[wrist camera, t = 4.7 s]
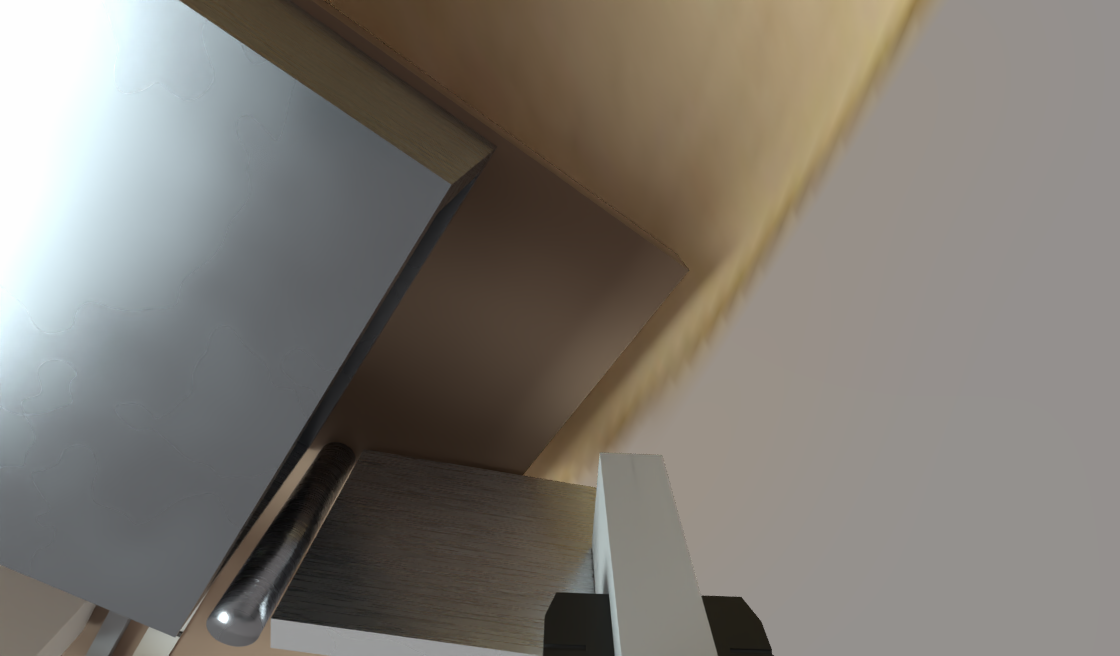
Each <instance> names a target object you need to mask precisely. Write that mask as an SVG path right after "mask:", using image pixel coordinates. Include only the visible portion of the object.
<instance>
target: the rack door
mask: <svg viewBox="0 0 1120 656" xmlns="http://www.w3.org/2000/svg"><path fill="white" fill-rule="evenodd" d="M355 461H356V457H355V454H354V452H353V450H352V449H351V448H350V447H348V446H347V445H345V444H343V443H339V442H331V443H328V444H326V445H324V446H323V447H322V449H321V450H320V452H319V453H318V455H317V456H316V457H315V459H314V460H313V462H312V463H311V465H310V466H309V468H308V469H307V471H306V472H305V474H304V475H303V477H302V478H301V480H300V481H299V483H298V484H297V486H296V487H295V489H294V490H293V492H292V493H291V495H290V496H289V498H288V499H287V501H286V502H285V504H284V505H283V507H282V508H281V510H280V511H279V513H278V514H277V516H276V517H275V519H274V520H273V522H272V523H271V525H270V526H269V528H268V529H267V530H266V532H265V533H264V535H263V536H262V538H261V539H260V541H259V542H258V544H257V545H256V547H255V548H254V550H253V551H252V553H251V554H250V556H249V557H248V559H247V560H246V562H245V563H244V565H243V566H242V568H241V569H240V571H239V572H238V574H237V575H236V577H235V578H234V580H233V581H232V583H231V584H230V586H229V587H228V589H227V590H226V592H225V593H224V595H223V596H222V598H221V599H220V600H219V602H218V603H217V605H216V606H215V608H214V609H213V611H212V612H211V614H210V615H209V617H208V619H207V622H206V626H207V630H208V632H209V633H210V634H211V636H212V637H213V638H215V639H216V640H217V641H219V642H221V643H223V644H226V645H229V646H235V647H243V646H248V645H250V644H253V643H254V642H255V641H256V640H257V639H258V638H259V636H260V634H261V632H262V630H263V629H264V627H265V625H266V623H267V621H268V620H269V618H270V616H271V614H272V612H273V611H274V609H275V607H276V605H277V603H278V601H279V600H280V598H281V596H282V594H283V592H284V591H285V589H286V587H287V585H288V583H289V582H290V580H291V578H292V576H293V574H294V573H295V571H296V569H297V567H298V565H299V563H300V562H301V560H302V558H303V556H304V554H305V553H306V551H307V549H308V547H309V545H310V544H311V542H312V540H313V538H314V536H315V535H316V533H317V531H318V529H319V527H320V526H321V524H322V522H323V520H324V518H325V516H326V515H327V513H328V511H329V509H330V507H331V506H332V504H333V502H334V500H335V498H336V497H337V495H338V493H339V491H340V489H341V488H342V486H343V484H344V482H345V480H346V479H347V477H348V475H349V473H350V471H351V469H352V468H353V466H354V464H355ZM596 490H597V488H595V487H590V486H583V485H577V484H571V483H565V482H559V481H553V480H547V479H541V478H535V477H529V476H522V475H516V474H510V473H504V472H498V471H492V470H486V469H480V468H474V467H468V466H461V465H455V464H449V463H443V462H437V461H431V460H425V459H419V458H413V457H407V456H400V455H394V454H388V453H382V452H376V451H370V450H363V452H362V453H361V455H360V457H359V459H358V461H357V463H356V464H355V466H354V468H353V470H352V472H351V473H350V475H349V477H348V479H347V481H346V483H345V484H344V486H343V488H342V490H341V492H340V493H339V495H338V497H337V499H336V501H335V503H334V504H333V506H332V508H331V510H330V512H329V513H328V515H327V517H326V519H325V521H324V523H323V524H322V526H321V528H320V530H319V532H318V533H317V535H316V537H315V539H314V541H313V543H312V544H311V546H310V548H309V550H308V552H307V554H306V555H305V557H304V559H303V561H302V563H301V564H300V566H299V568H298V570H297V572H296V574H295V575H294V577H293V579H292V581H291V583H290V584H289V586H288V588H287V590H286V592H285V594H284V595H283V597H282V599H281V601H280V603H279V604H278V606H277V608H276V610H275V612H274V614H273V615H272V617H271V648H276V649H284V650H291V651H298V652H306V653H313V654H321V655H328V656H543V638H544V618H545V614H546V612H547V610H548V608H549V606H550V604H551V602H552V600H553V598H554V596H555V594H556V592H564V593H592V594H595V581H594V566H593V551H592V534H593V523H594V512H595V501H596Z"/></svg>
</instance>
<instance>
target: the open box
mask: <svg viewBox="0 0 1120 656" xmlns="http://www.w3.org/2000/svg"><path fill="white" fill-rule="evenodd" d="M496 148H497V146H496V145H494V144H493V143H491V142H490V141H488V140H487V139H486V138H484V137H483V136H481V135H480V134H479V133H477V132H476V131H474V130H473V129H472V128H470V127H469V126H467V125H466V124H464V123H463V122H462V121H460V120H459V119H457V118H456V117H455V116H453V115H452V114H450V113H449V112H448V111H446V110H445V109H443V108H442V107H441V106H439V105H438V104H436V103H435V102H433V101H432V100H431V99H429V98H428V97H426V96H425V95H424V94H422V93H421V92H419V91H418V90H417V89H415V88H414V87H412V86H411V85H409V84H408V83H407V82H405V81H404V80H402V79H401V78H400V77H398V76H397V75H395V74H394V73H393V72H391V71H390V70H388V69H387V68H386V67H384V66H383V65H381V64H380V63H378V62H377V61H376V60H374V59H373V58H371V57H370V56H369V55H367V54H366V53H364V52H363V51H362V50H360V49H359V48H357V47H356V46H354V45H353V44H352V43H350V42H349V41H347V40H346V39H345V38H343V37H342V36H340V35H339V34H338V33H336V32H335V31H333V30H332V29H331V28H329V27H328V26H326V25H325V24H323V23H322V22H321V21H319V20H318V19H316V18H315V17H314V16H312V15H311V14H309V13H308V12H307V11H305V10H304V9H302V8H301V7H299V6H298V5H297V4H295V3H294V2H292V1H291V0H0V565H2V566H4V567H7V568H9V569H11V570H14V571H16V572H19V573H21V574H23V575H26V576H28V577H31V578H33V579H36V580H38V581H40V582H43V583H45V584H48V585H50V586H52V587H55V588H57V589H60V590H62V591H64V592H67V593H69V594H72V595H74V596H76V597H79V598H81V599H84V600H86V601H88V602H91V603H93V604H96V605H98V606H100V607H103V608H105V609H108V610H110V611H112V612H115V613H117V614H120V615H122V616H124V617H127V618H129V619H132V620H134V621H136V622H139V623H141V624H144V625H146V626H148V627H151V628H153V629H156V630H158V631H160V632H163V633H165V634H168V635H170V636H172V637H176V636H177V634H178V633H179V631H180V630H181V629H182V627H183V626H184V624H185V623H186V621H187V620H188V619H189V617H190V616H191V614H192V613H193V612H194V610H195V609H196V607H197V606H198V604H199V603H200V602H201V600H202V599H203V597H204V596H205V595H206V593H207V592H208V590H209V589H210V588H211V586H212V585H213V583H214V582H215V580H216V579H217V578H218V576H219V575H220V573H221V572H222V571H223V569H224V568H225V566H226V565H227V564H228V562H229V561H230V559H231V558H232V556H233V555H234V554H235V552H236V551H237V549H238V548H239V547H240V545H241V544H242V542H243V541H244V539H245V538H246V537H247V535H248V534H249V532H250V531H251V530H252V528H253V527H254V525H255V524H256V523H257V521H258V520H259V518H260V517H261V515H262V514H263V513H264V511H265V510H266V508H267V507H268V506H269V504H270V503H271V501H272V500H273V498H274V497H275V496H276V494H277V493H278V491H279V490H280V489H281V487H282V486H283V484H284V483H285V482H286V480H287V479H288V477H289V476H290V474H291V473H292V472H293V470H294V469H295V467H296V466H297V465H298V463H299V462H300V460H301V459H302V457H303V456H304V455H305V453H306V452H307V450H308V449H309V447H310V446H311V444H312V443H313V441H314V439H315V438H316V436H317V435H318V433H319V431H320V430H321V428H322V427H323V425H324V423H325V422H326V420H327V419H328V417H329V415H330V414H331V412H332V411H333V409H334V407H335V406H336V404H337V403H338V401H339V399H340V398H341V396H342V395H343V393H344V391H345V390H346V388H347V387H348V385H349V383H350V382H351V380H352V379H353V377H354V375H355V374H356V372H357V371H358V369H359V367H360V366H361V364H362V363H363V361H364V359H365V358H366V356H367V355H368V353H369V351H370V350H371V348H372V347H373V345H374V343H375V342H376V340H377V339H378V337H379V335H380V334H381V332H382V331H383V329H384V327H385V326H386V324H387V323H388V321H389V319H390V318H391V316H392V315H393V313H394V311H395V310H396V308H397V307H398V305H399V303H400V302H401V300H402V299H403V297H404V295H405V294H406V292H407V291H408V289H409V287H410V286H411V284H412V283H413V281H414V279H415V278H416V276H417V275H418V273H419V271H420V270H421V268H422V267H423V265H424V263H425V262H426V260H427V259H428V257H429V255H430V254H431V252H432V251H433V249H434V247H435V246H436V244H437V243H438V241H439V239H440V238H441V236H442V235H443V233H444V231H445V230H446V228H447V227H448V225H449V223H450V222H451V220H452V219H453V217H454V215H455V214H456V212H457V211H458V209H459V207H460V206H461V204H462V203H463V201H464V199H465V198H466V196H467V195H468V193H469V191H470V190H471V188H472V187H473V185H474V183H475V182H476V180H477V179H478V177H479V175H480V174H481V172H482V171H483V169H484V167H485V166H486V164H487V163H488V161H489V159H490V158H491V156H492V155H493V153H494V151H495V150H496Z"/></svg>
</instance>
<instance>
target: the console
mask: <svg viewBox="0 0 1120 656" xmlns="http://www.w3.org/2000/svg"><path fill="white" fill-rule="evenodd" d="M291 1H292V2H294V3H295V4H297V5H298V6H299V7H301V8H302V9H304V10H305V11H307V12H308V13H309V14H311V15H312V16H314V17H315V18H316V19H318V20H319V21H321V22H322V23H323V24H325V25H326V26H328V27H329V28H331V29H332V30H333V31H335V32H336V33H338V34H339V35H340V36H342V37H343V38H345V39H346V40H347V41H349V42H350V43H352V44H353V45H354V46H356V47H357V48H359V49H360V50H362V51H363V52H364V53H366V54H367V55H369V56H370V57H371V58H373V59H374V60H376V61H377V62H378V63H380V64H381V65H383V66H384V67H386V68H387V69H388V70H390V71H391V72H393V73H394V74H395V75H397V76H398V77H400V78H401V79H402V80H404V81H405V82H407V83H408V84H409V85H411V86H412V87H414V88H415V89H417V90H418V91H419V92H421V93H422V94H424V95H425V96H426V97H428V98H429V99H431V100H432V101H433V102H435V103H436V104H438V105H439V106H441V107H442V108H443V109H445V110H446V111H448V112H449V113H450V114H452V115H453V116H455V117H456V118H457V119H459V120H460V121H462V122H463V123H464V124H466V125H467V126H469V127H470V128H472V129H473V130H474V131H476V132H477V133H479V134H480V135H481V136H483V137H484V138H486V139H487V140H488V141H490V142H491V143H493V144H494V145H496V146H497V148H496V150H495V151H494V153H493V155H492V156H491V158H490V159H489V161H488V163H487V164H486V166H485V167H484V169H483V171H482V172H481V174H480V175H479V177H478V179H477V180H476V182H475V183H474V185H473V187H472V188H471V190H470V191H469V193H468V195H467V196H466V198H465V199H464V201H463V203H462V204H461V206H460V207H459V209H458V211H457V212H456V214H455V215H454V217H453V219H452V220H451V222H450V223H449V225H448V227H447V228H446V230H445V231H444V233H443V235H442V236H441V238H440V239H439V241H438V243H437V244H436V246H435V247H434V249H433V251H432V252H431V254H430V255H429V257H428V259H427V260H426V262H425V263H424V265H423V267H422V268H421V270H420V271H419V273H418V275H417V276H416V278H415V279H414V281H413V283H412V284H411V286H410V287H409V289H408V291H407V292H406V294H405V295H404V297H403V299H402V300H401V302H400V303H399V305H398V307H397V308H396V310H395V311H394V313H393V315H392V316H391V318H390V319H389V321H388V323H387V324H386V326H385V327H384V329H383V331H382V332H381V334H380V335H379V337H378V339H377V340H376V342H375V343H374V345H373V347H372V348H371V350H370V351H369V353H368V355H367V356H366V358H365V359H364V361H363V363H362V364H361V366H360V367H359V369H358V371H357V372H356V374H355V375H354V377H353V379H352V380H351V382H350V383H349V385H348V387H347V388H346V390H345V391H344V393H343V395H342V396H341V398H340V399H339V401H338V403H337V404H336V406H335V407H334V409H333V411H332V412H331V414H330V415H329V417H328V419H327V420H326V422H325V423H324V425H323V427H322V428H321V430H320V431H319V433H318V435H317V436H316V438H315V439H314V441H313V443H312V444H311V446H310V447H309V449H308V450H307V452H306V453H305V455H304V456H303V457H302V459H301V460H300V462H299V463H298V465H297V466H296V467H295V469H294V470H293V472H292V473H291V474H290V476H289V477H288V479H287V480H286V482H285V483H284V484H283V486H282V487H281V489H280V490H279V491H278V493H277V494H276V496H275V497H274V498H273V500H272V501H271V503H270V504H269V506H268V507H267V508H266V510H265V511H264V513H263V514H262V515H261V517H260V518H259V520H258V521H257V523H256V524H255V525H254V527H253V528H252V530H251V531H250V532H249V534H248V535H247V537H246V538H245V539H244V541H243V542H242V544H241V545H240V547H239V548H238V549H237V551H236V552H235V554H234V555H233V556H232V558H231V559H230V561H229V562H228V564H227V565H226V566H225V568H224V569H223V571H222V572H221V573H220V575H219V576H218V578H217V579H216V580H215V582H214V583H213V585H212V586H211V588H210V589H209V590H208V592H207V593H206V595H205V596H204V597H203V599H202V600H201V602H200V603H199V604H198V606H197V607H196V609H195V610H194V612H193V613H192V614H191V616H190V617H189V619H188V620H187V621H186V623H185V624H184V626H183V627H182V629H181V630H180V631H179V633H178V634H177V636H176V637H172V636H170V635H168V634H165V633H163V632H160V631H158V630H156V629H153V628H151V627H148V626H146V625H144V624H141V623H139V622H136V621H134V620H132V619H129V618H127V617H124V616H122V615H120V614H117V613H115V612H112V611H110V610H108V609H105V608H103V607H100V606H98V605H96V607H95V608H94V610H93V612H92V614H91V616H90V618H89V620H88V622H87V624H86V626H85V628H84V630H83V631H82V632H81V633H80V635H79V636H78V637H77V638H76V639H75V640H74V641H73V642H72V644H71V645H70V646H69V647H68V648H67V649H66V650H65V651H64V653H63V654H62V655H61V656H328V655H321V654H313V653H306V652H298V651H291V650H284V649H276V648H271V617H272V615H273V614H274V612H275V610H276V608H277V606H278V604H279V603H280V601H281V599H282V597H283V595H284V594H285V592H286V590H287V588H288V586H289V584H290V583H291V581H292V579H293V577H294V575H295V574H296V572H297V570H298V568H299V566H300V564H301V563H302V561H303V559H304V557H305V555H306V554H307V552H308V550H309V548H310V546H311V544H312V543H313V541H314V539H315V537H316V535H317V533H318V532H319V530H320V528H321V526H322V524H323V523H324V521H325V519H326V517H327V515H328V513H329V512H330V510H331V508H332V506H333V504H334V503H335V501H336V499H337V497H338V495H339V493H340V492H341V490H342V488H343V486H344V484H345V483H346V481H347V479H348V477H349V475H350V473H351V472H352V470H353V468H354V466H355V464H356V463H357V461H358V459H359V457H360V455H361V453H362V452H363V450H370V451H376V452H382V453H388V454H394V455H400V456H407V457H413V458H419V459H425V460H431V461H437V462H443V463H449V464H455V465H461V466H468V467H474V468H480V469H486V470H492V471H498V472H504V473H510V474H516V475H523V474H524V473H525V472H526V470H527V469H528V468H529V467H530V465H531V464H532V463H533V462H534V461H535V459H536V458H537V457H538V456H539V454H540V453H541V452H542V451H543V449H544V448H545V447H546V446H547V445H548V443H549V442H550V441H551V440H552V438H553V437H554V436H555V435H556V433H557V432H558V431H559V430H560V429H561V427H562V426H563V425H564V424H565V422H566V421H567V420H568V419H569V418H570V416H571V415H572V414H573V413H574V411H575V410H576V409H577V408H578V406H579V405H580V404H581V403H582V402H583V400H584V399H585V398H586V397H587V395H588V394H589V393H590V392H591V390H592V389H593V388H594V387H595V386H596V384H597V383H598V382H599V381H600V379H601V378H602V377H603V376H604V375H605V373H606V372H607V371H608V370H609V368H610V367H611V366H612V365H613V363H614V362H615V361H616V360H617V359H618V357H619V356H620V355H621V354H622V352H623V351H624V350H625V349H626V347H627V346H628V345H629V344H630V343H631V341H632V340H633V339H634V338H635V336H636V335H637V334H638V333H639V331H640V330H641V329H642V328H643V327H644V325H645V324H646V323H647V322H648V320H649V319H650V318H651V317H652V316H653V314H654V313H655V312H656V311H657V309H658V308H659V307H660V306H661V304H662V303H663V302H664V301H665V300H666V298H667V297H668V296H669V295H670V293H671V292H672V291H673V290H674V288H675V287H676V286H677V285H678V284H679V282H680V281H681V280H682V279H683V277H684V276H685V275H686V274H687V273H688V271H689V269H688V268H687V267H686V266H685V264H684V263H683V262H682V260H681V259H680V258H679V256H678V255H677V254H676V253H674V252H673V251H671V250H670V249H669V248H667V247H666V246H664V245H663V244H662V243H660V242H659V241H657V240H656V239H655V238H653V237H652V236H651V235H649V234H648V233H646V232H645V231H644V230H642V229H641V228H639V227H638V226H637V225H635V224H634V223H632V222H631V221H630V220H628V219H627V218H625V217H624V216H623V215H621V214H620V213H619V212H617V211H616V210H614V209H613V208H612V207H610V206H609V205H607V204H606V203H605V202H603V201H602V200H600V199H599V198H598V197H596V196H595V195H594V194H592V193H591V192H589V191H588V190H587V189H585V188H584V187H582V186H581V185H580V184H578V183H577V182H575V181H574V180H573V179H571V178H570V177H568V176H567V175H566V174H564V173H563V172H562V171H560V170H559V169H557V168H556V167H555V166H553V165H552V164H550V163H549V162H548V161H546V160H545V159H543V158H542V157H541V156H539V155H538V154H536V153H535V152H534V151H532V150H531V149H530V148H528V147H527V146H525V145H524V144H523V143H521V142H520V141H518V140H517V139H516V138H514V137H513V136H511V135H510V134H509V133H507V132H506V131H505V130H503V129H502V128H500V127H499V126H498V125H496V124H495V123H493V122H492V121H491V120H489V119H488V118H486V117H485V116H484V115H482V114H481V113H479V112H478V111H477V110H475V109H474V108H473V107H471V106H470V105H468V104H467V103H466V102H464V101H463V100H461V99H460V98H459V97H457V96H456V95H454V94H453V93H452V92H450V91H449V90H448V89H446V88H445V87H443V86H442V85H441V84H439V83H438V82H436V81H435V80H434V79H432V78H431V77H429V76H428V75H427V74H425V73H424V72H422V71H421V70H420V69H418V68H417V67H416V66H414V65H413V64H411V63H410V62H409V61H407V60H406V59H404V58H403V57H402V56H400V55H399V54H397V53H396V52H395V51H393V50H392V49H390V48H389V47H388V46H386V45H385V44H384V43H382V42H381V41H379V40H378V39H377V38H375V37H374V36H372V35H371V34H370V33H368V32H367V31H365V30H364V29H363V28H361V27H360V26H359V25H357V24H356V23H354V22H353V21H352V20H350V19H349V18H347V17H346V16H345V15H343V14H342V13H340V12H339V11H338V10H336V9H335V8H333V7H332V6H331V5H329V4H328V3H327V2H325V1H324V0H291ZM331 442H339V443H343V444H345V445H347V446H348V447H350V448H351V449H352V450H353V452H354V454H355V457H356V461H355V464H354V466H353V468H352V469H351V471H350V473H349V475H348V477H347V479H346V480H345V482H344V484H343V486H342V488H341V489H340V491H339V493H338V495H337V497H336V498H335V500H334V502H333V504H332V506H331V507H330V509H329V511H328V513H327V515H326V516H325V518H324V520H323V522H322V524H321V526H320V527H319V529H318V531H317V533H316V535H315V536H314V538H313V540H312V542H311V544H310V545H309V547H308V549H307V551H306V553H305V554H304V556H303V558H302V560H301V562H300V563H299V565H298V567H297V569H296V571H295V573H294V574H293V576H292V578H291V580H290V582H289V583H288V585H287V587H286V589H285V591H284V592H283V594H282V596H281V598H280V600H279V601H278V603H277V605H276V607H275V609H274V611H273V612H272V614H271V616H270V618H269V620H268V621H267V623H266V625H265V627H264V629H263V630H262V632H261V634H260V636H259V638H258V639H257V640H256V641H255V642H254V643H253V644H250V645H248V646H243V647H235V646H229V645H226V644H223V643H221V642H219V641H217V640H216V639H215V638H213V637H212V636H211V634H210V633H209V632H208V630H207V626H206V622H207V619H208V617H209V615H210V614H211V612H212V611H213V609H214V608H215V606H216V605H217V603H218V602H219V600H220V599H221V598H222V596H223V595H224V593H225V592H226V590H227V589H228V587H229V586H230V584H231V583H232V581H233V580H234V578H235V577H236V575H237V574H238V572H239V571H240V569H241V568H242V566H243V565H244V563H245V562H246V560H247V559H248V557H249V556H250V554H251V553H252V551H253V550H254V548H255V547H256V545H257V544H258V542H259V541H260V539H261V538H262V536H263V535H264V533H265V532H266V530H267V529H268V528H269V526H270V525H271V523H272V522H273V520H274V519H275V517H276V516H277V514H278V513H279V511H280V510H281V508H282V507H283V505H284V504H285V502H286V501H287V499H288V498H289V496H290V495H291V493H292V492H293V490H294V489H295V487H296V486H297V484H298V483H299V481H300V480H301V478H302V477H303V475H304V474H305V472H306V471H307V469H308V468H309V466H310V465H311V463H312V462H313V460H314V459H315V457H316V456H317V455H318V453H319V452H320V450H321V449H322V447H323V446H324V445H326V444H328V443H331Z"/></svg>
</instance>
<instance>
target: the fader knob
mask: <svg viewBox="0 0 1120 656" xmlns="http://www.w3.org/2000/svg"><path fill="white" fill-rule="evenodd" d="M95 607H96V604H93V603H91V602H88V601H86V600H84V599H81V598H79V597H76V596H74V595H72V594H69V593H67V592H64V591H62V590H60V589H57V588H55V587H52V586H50V585H48V584H45V583H43V582H40V581H38V580H36V579H33V578H31V577H28V576H26V575H23V574H21V573H19V572H16V571H14V570H11V569H9V568H7V567H4V566H2V565H0V656H61V655H62V654H63V653H64V651H65V650H66V649H67V648H68V647H69V646H70V645H71V644H72V642H73V641H74V640H75V639H76V638H77V637H78V636H79V635H80V633H81V632H82V631H83V630H84V628H85V626H86V624H87V622H88V620H89V618H90V616H91V614H92V612H93V610H94V608H95Z"/></svg>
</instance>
